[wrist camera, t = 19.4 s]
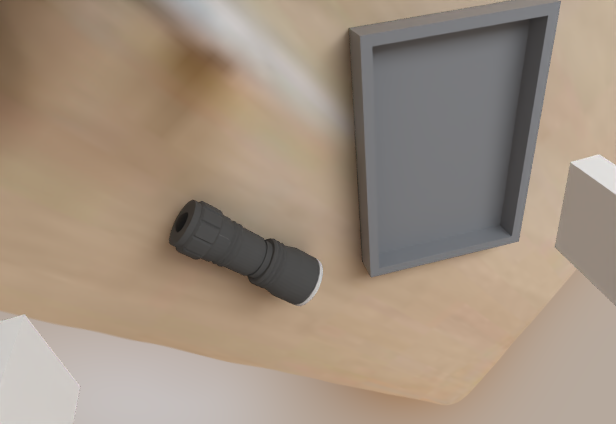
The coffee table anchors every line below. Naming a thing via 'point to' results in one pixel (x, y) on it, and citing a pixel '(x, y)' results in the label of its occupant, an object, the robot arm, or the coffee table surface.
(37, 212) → the coffee table surface
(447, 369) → the coffee table surface
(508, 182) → the box
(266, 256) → the flashlight
